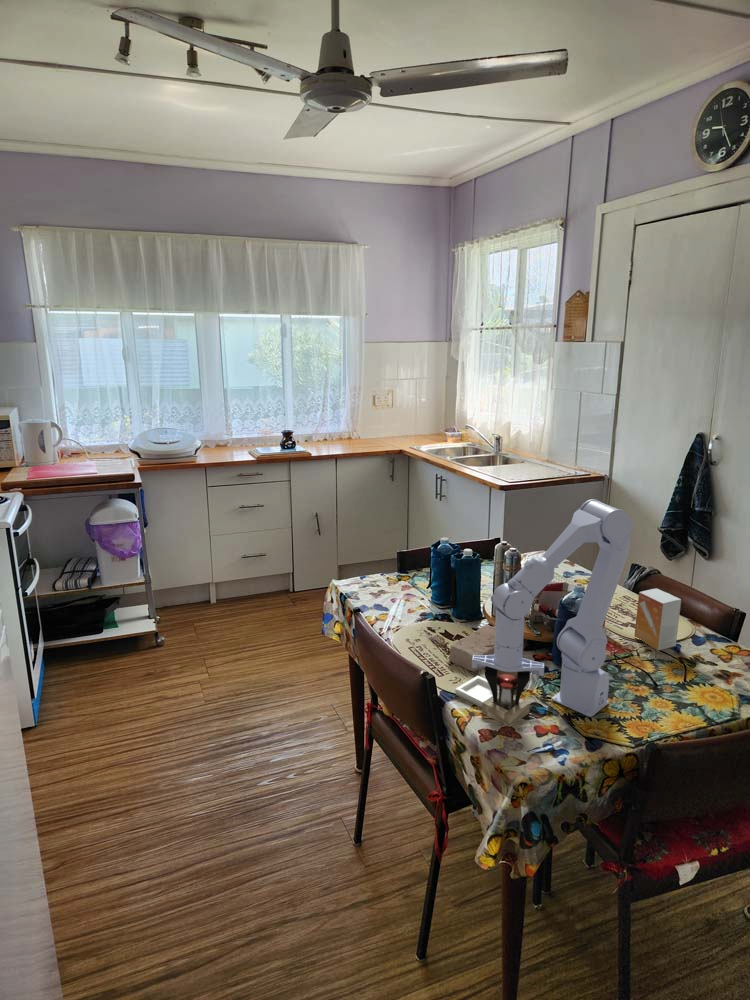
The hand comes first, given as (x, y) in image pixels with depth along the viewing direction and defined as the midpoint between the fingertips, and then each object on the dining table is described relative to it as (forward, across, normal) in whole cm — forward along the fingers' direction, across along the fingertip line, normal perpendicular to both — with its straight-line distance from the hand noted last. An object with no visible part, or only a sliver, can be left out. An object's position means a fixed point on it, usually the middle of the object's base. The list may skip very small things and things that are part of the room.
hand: (506, 700), depth 135 cm
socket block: (+3, 0, 0) cm, 3 cm away
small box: (+3, -35, -42) cm, 55 cm away
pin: (+3, 0, 0) cm, 3 cm away
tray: (+3, +6, -6) cm, 9 cm away
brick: (+3, +7, -25) cm, 26 cm away
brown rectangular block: (+3, +1, -12) cm, 13 cm away
